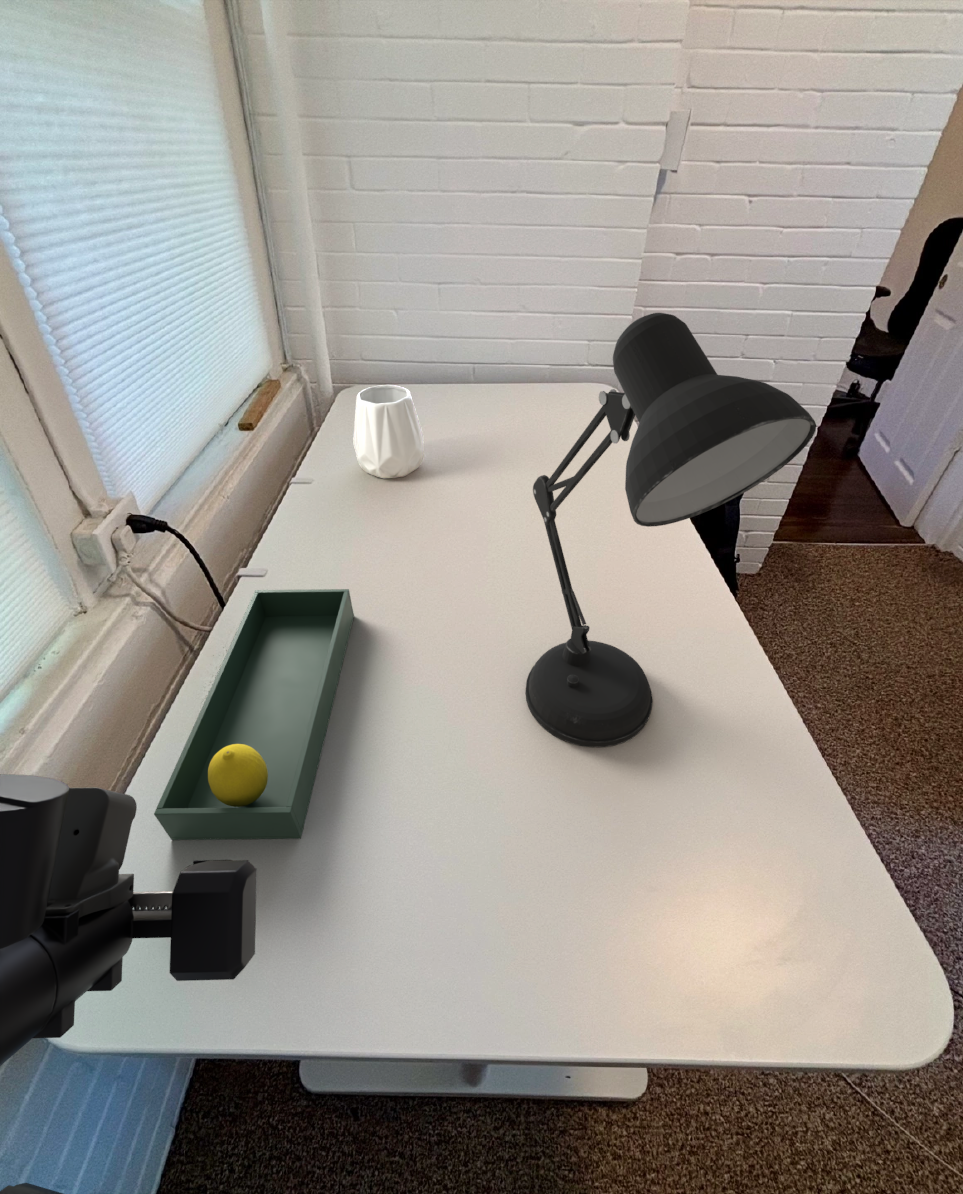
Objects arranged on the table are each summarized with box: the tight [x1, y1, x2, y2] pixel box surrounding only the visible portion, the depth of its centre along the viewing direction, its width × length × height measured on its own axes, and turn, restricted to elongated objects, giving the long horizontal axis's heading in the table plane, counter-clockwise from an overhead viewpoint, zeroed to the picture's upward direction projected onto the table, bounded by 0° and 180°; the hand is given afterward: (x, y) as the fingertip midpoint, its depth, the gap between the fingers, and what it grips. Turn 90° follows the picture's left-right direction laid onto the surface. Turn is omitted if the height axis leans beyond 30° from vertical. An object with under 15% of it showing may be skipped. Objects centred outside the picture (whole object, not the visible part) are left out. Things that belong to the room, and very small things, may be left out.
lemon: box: [208, 744, 268, 807], centre depth 61 cm, size 6×6×8 cm
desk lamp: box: [525, 312, 817, 748], centre depth 59 cm, size 24×26×45 cm
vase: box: [352, 384, 425, 479], centre depth 117 cm, size 14×14×15 cm
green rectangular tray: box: [153, 588, 355, 841], centre depth 72 cm, size 34×13×5 cm, turn 0°
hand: (167, 871), depth 44 cm, fingers open, 9 cm apart
